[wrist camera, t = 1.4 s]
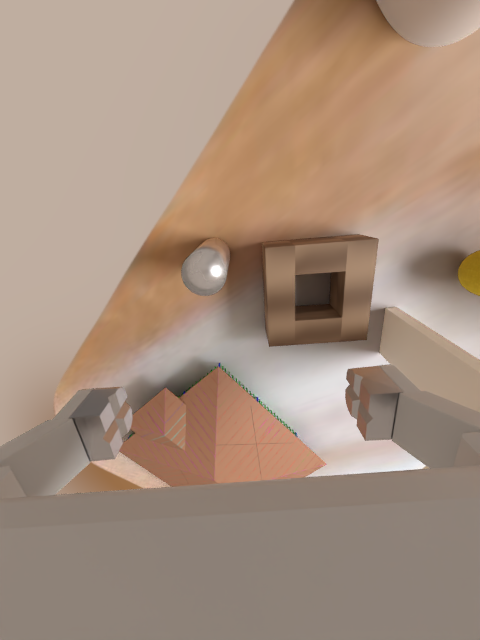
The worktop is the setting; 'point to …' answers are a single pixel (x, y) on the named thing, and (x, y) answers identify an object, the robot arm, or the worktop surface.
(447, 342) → the cream panel with ledge
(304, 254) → the socket block
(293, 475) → the house
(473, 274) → the lemon
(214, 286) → the peg
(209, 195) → the worktop surface
